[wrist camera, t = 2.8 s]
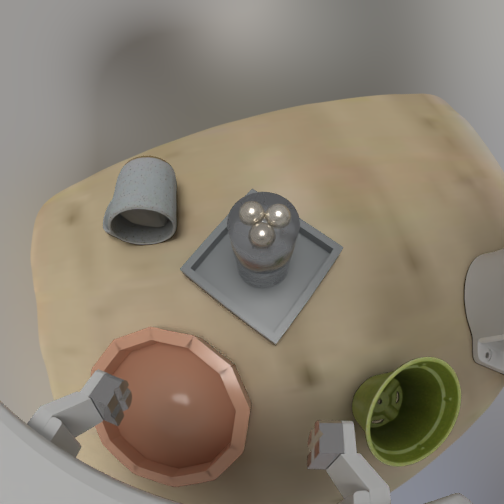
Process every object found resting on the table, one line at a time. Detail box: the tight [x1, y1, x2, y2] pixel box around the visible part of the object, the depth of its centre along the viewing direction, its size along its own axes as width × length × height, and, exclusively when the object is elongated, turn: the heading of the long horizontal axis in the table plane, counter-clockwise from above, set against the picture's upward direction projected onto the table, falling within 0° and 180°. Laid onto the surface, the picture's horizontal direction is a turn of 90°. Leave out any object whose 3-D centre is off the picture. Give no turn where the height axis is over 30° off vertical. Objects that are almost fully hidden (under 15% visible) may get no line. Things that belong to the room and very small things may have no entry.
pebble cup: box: [227, 192, 300, 288], centre depth 24 cm, size 5×5×10 cm
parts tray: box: [180, 189, 343, 345], centre depth 28 cm, size 12×12×2 cm
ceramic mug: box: [103, 156, 177, 245], centre depth 28 cm, size 11×8×8 cm
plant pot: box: [352, 357, 461, 467], centre depth 19 cm, size 9×9×9 cm
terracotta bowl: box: [91, 327, 251, 487], centre depth 22 cm, size 16×16×4 cm
